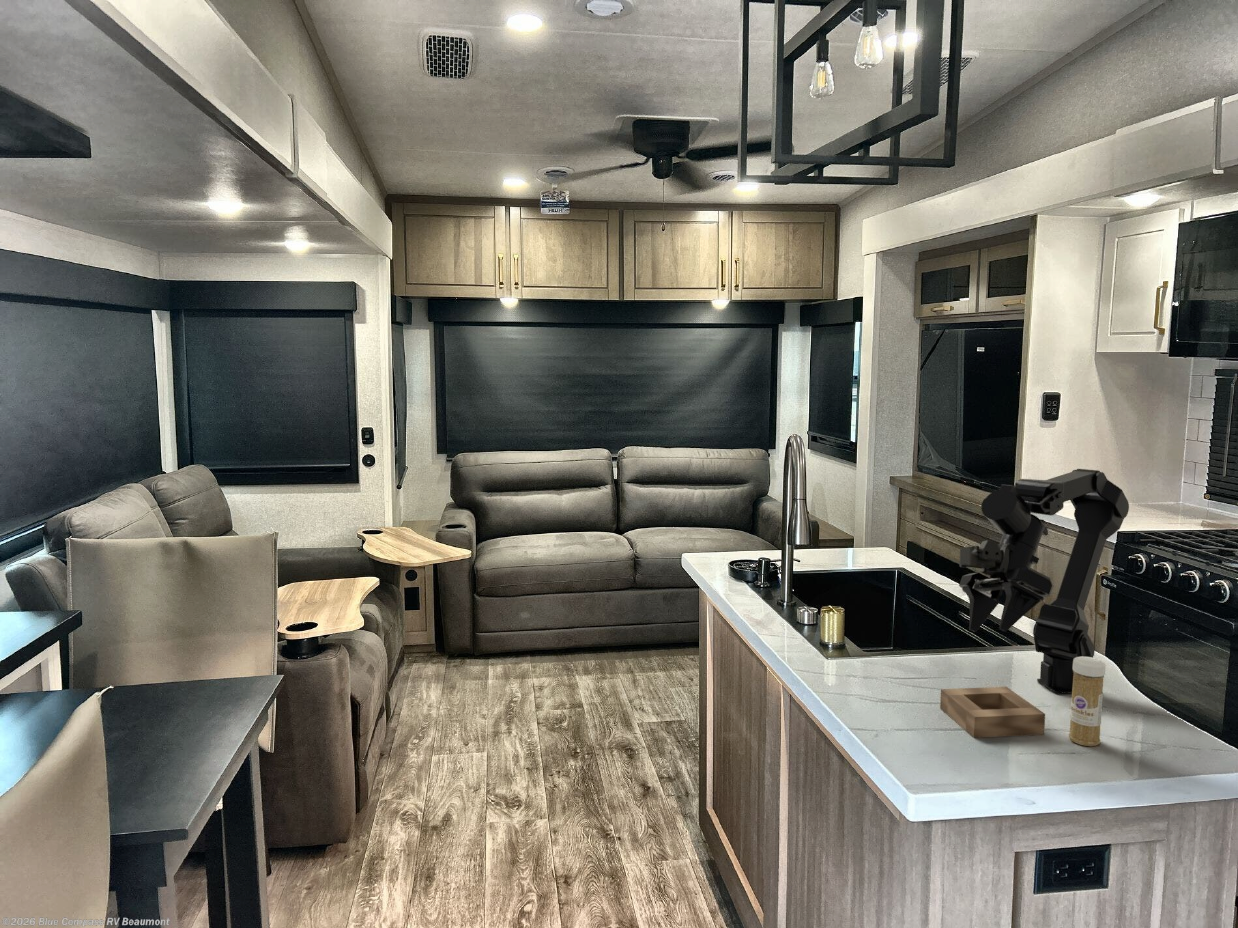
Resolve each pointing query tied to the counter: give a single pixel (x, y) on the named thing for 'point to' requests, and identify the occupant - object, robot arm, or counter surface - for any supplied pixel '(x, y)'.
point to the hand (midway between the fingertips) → (986, 630)
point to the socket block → (992, 712)
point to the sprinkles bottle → (1086, 700)
